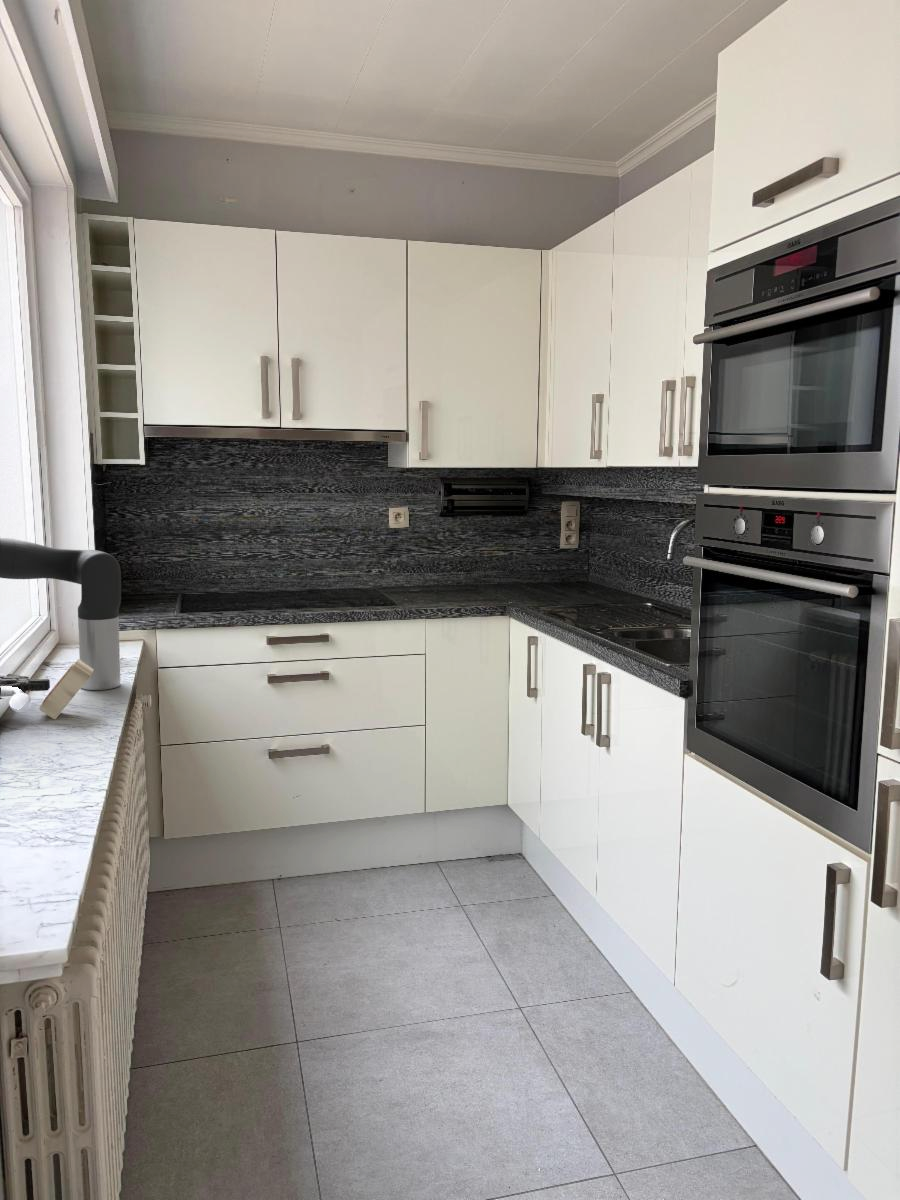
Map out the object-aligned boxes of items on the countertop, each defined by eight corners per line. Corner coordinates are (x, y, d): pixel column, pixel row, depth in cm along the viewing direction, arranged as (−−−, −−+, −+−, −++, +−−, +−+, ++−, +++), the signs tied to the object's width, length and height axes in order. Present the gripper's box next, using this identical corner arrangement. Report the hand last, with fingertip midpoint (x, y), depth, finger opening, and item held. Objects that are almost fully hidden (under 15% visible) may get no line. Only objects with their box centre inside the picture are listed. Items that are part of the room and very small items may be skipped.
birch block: (42, 701, 201) (77, 658, 201) (58, 712, 202) (93, 669, 203) (37, 708, 195) (74, 664, 196) (54, 719, 196) (90, 675, 197)
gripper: (-49, 677, 186) (43, 674, 191) (-34, 663, 199) (53, 661, 204) (-47, 713, 187) (45, 709, 192) (-32, 697, 200) (54, 694, 205)
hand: (49, 684), depth 198 cm, fingers closed
